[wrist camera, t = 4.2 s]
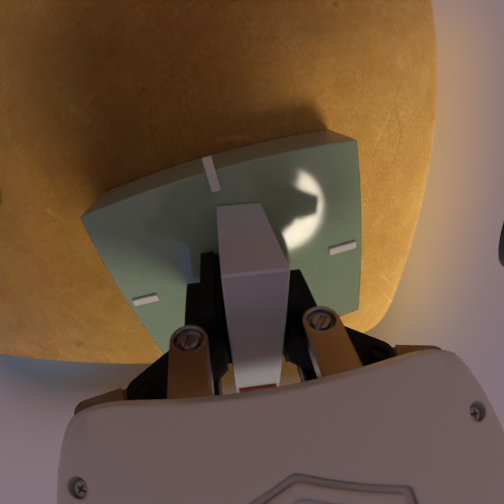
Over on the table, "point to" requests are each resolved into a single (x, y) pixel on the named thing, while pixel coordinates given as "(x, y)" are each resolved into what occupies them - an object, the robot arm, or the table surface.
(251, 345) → the tap handle
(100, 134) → the table surface
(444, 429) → the robot arm
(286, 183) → the panel
